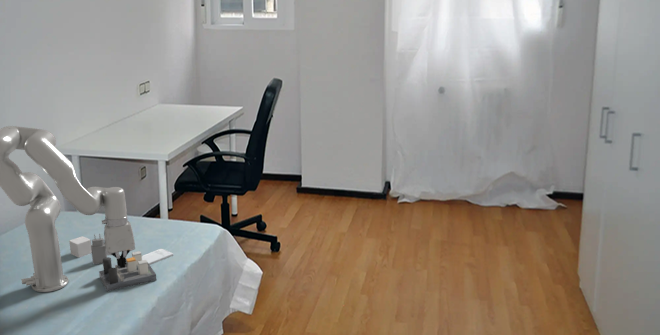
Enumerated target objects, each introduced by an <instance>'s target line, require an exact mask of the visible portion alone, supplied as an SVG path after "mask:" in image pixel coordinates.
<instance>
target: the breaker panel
mask: <svg viewBox="0 0 660 335" xmlns="http://www.w3.org/2000/svg"><path fill="white" fill-rule="evenodd" d="M114 268H117V274H118V282H117V283H115V284H111V283H110V281H109V273H104V269H103V270H100V271H98V274H99V279H100V281H101V282H102V285H103V287H104V288H105V290H106V292H111V291H116V290H120V289H125V288H128V287H133V286H137V285H142V284H147V283H150V282H154V281H157V274H156V272H155V271H154V269H153V268H152V266H151V265H149V264H148V272H149V273H146V274H142V275H139V269H138V265H136V268H137V270H135V271H131V272H127V264H125V268H120V266H118V265H117V264H115V265H114Z"/></svg>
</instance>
